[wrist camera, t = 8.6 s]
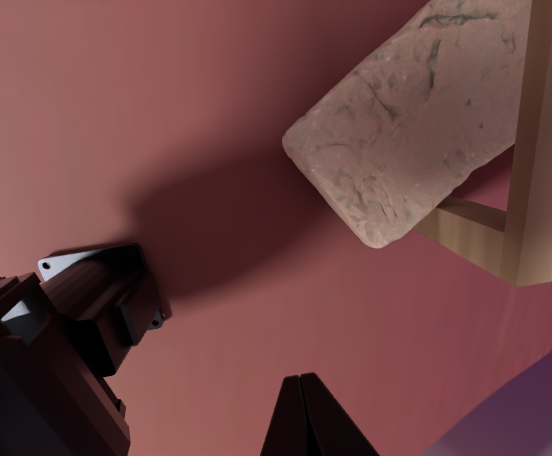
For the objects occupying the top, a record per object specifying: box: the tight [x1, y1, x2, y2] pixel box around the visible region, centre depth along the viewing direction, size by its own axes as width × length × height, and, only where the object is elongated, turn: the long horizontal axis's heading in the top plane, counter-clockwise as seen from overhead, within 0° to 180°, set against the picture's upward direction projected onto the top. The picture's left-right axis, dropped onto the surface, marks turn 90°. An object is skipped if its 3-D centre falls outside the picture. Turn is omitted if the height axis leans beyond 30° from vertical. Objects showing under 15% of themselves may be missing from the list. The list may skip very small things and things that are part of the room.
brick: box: [282, 0, 532, 248], centre depth 15 cm, size 17×8×5 cm, turn 131°
